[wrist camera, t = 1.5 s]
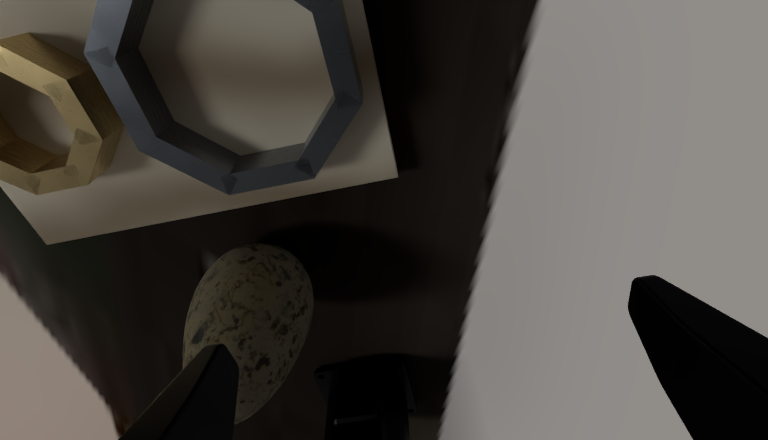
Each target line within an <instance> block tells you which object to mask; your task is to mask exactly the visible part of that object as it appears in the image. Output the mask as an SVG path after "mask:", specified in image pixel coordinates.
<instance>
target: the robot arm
mask: <svg viewBox="0 0 768 440" xmlns="http://www.w3.org/2000/svg"><path fill="white" fill-rule="evenodd" d="M628 310H629V314H630V317H631V319H632V321H633V324H634V326H635V328H636V330H637V333H638V335H639V337H640V339H641V342H642V344H643V346H644V348H645V350H646V353H647V355H648V357H649V359H650V362H651V364H652V366H653V368H654V371H655V373H656V375H657V377H658V379H659V381H660V383H661V385H662V387H663V389H664V390H665V392H666V394H667V396H668V397H669V399H670V401H671V403H672V404H673V406H674V408H675V409H676V411H677V413H678V415H679V416H680V418H681V420H682V421H683V423H684V424H685V426H686V428H687V430H688V432H689V433H690V435H691V437H692V438H693V440H768V338H767V337H765V336H763V335H761V334H760V333H758V332H756V331H754V330H752V329H751V328H749V327H747V326H745V325H744V324H742V323H740V322H738V321H736V320H735V319H733V318H731V317H729V316H728V315H726V314H724V313H722V312H720V311H719V310H717V309H715V308H713V307H712V306H710V305H708V304H706V303H705V302H703V301H701V300H699V299H697V298H696V297H694V296H692V295H690V294H689V293H686V292H685V291H683V290H681V289H680V288H678V287H676V286H674V285H673V284H671V283H669V282H667V281H665V280H664V279H662V278H660V277H658V276H655V275H650V276H644V277H637V278H635V279H634V280H633V281H632V285H631V291H630V296H629V302H628ZM314 378H315V380H316V382H317V385H318V387H319V389H320V391H321V393H322V395H323V397H324V400H325V402H326V404H327V406H328V407H327V417H326V428H325V438H324V440H410V435H409V421H408V415H412V414H415V413H416V412H417V404H416V401H415V397H414V393H413V390H412V386H411V382H410V379H409V375H408V371H407V368H406V364H405V360H404V358H403V357H401V356H393V357H387V358H380V359H374V360H367V361H361V362H354V363H348V364H341V365H335V366H328V367H322V368H317V369H316V370H315V374H314ZM238 383H239V367H238V364H237V362H236V361H235V359H234V358H233V356H232V355H231V353H230V352H229V350H228V348H227V347H226V346H225V345H224V344H222V343H219V344H213V345H207V346H205V347H203V348H202V349H201V350H200V351H199V352H198V354H197V355H196V356H195V357H194V358H193V359H192V360H191V361H190V362H189V363H188V364H187V366H186V367H185V368H184V369H183V370H182V371H181V372H180V373H179V374H178V375H177V376H176V377H175V379H174V380H173V381H172V382H171V383H170V384H169V385H168V386H167V387H166V388H165V389H164V390H163V392H162V393H161V394H160V395H159V396H158V397H157V398H156V399H155V400H154V401H153V402H152V404H151V405H150V406H149V407H148V408H147V409H146V410H145V411H144V412H143V413H142V414H141V415H140V417H139V418H138V419H137V420H136V421H135V422H134V423H133V424H132V425H131V426H130V427H129V428H128V430H127V431H126V432H125V433H124V434H123V435H122V436H121V437H120V438H119V439H118V440H232V438H233V430H234V421H235V412H236V402H237V393H238Z"/></svg>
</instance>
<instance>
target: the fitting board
mask: <svg viewBox="0 0 768 440" xmlns="http://www.w3.org/2000/svg"><path fill="white" fill-rule="evenodd" d="M97 1H98V0H0V39H3V38H7V37H11V36H15V35H20V34H23V33H27V32H28V33H30V34H32V35H34V36H36V37H37V38H39V39H41V40H43V41H45V42H47V43H49V44H50V45H52V46H54V47H56V48H58V49H60V50H62V51H63V52H65V53H67V54H69V55H71V56H73V57H75V58H77V59H78V60H80V61H82V62H84V63H86V64H88V65H90V64H89V62H88V60H87V58H86V57H85V55H84V49H85V46H86V42H87V38H88V34H89V31H90V27H91V23H92V19H93V16H94V12H95V8H96V4H97ZM343 4H344V8H345V13H346V17H347V21H348V26H349V30H350V34H351V39H352V43H353V47H354V52H355V56H356V60H357V65H358V69H359V73H360V78H361V82H362V86H363V104H362V105H361V107H360V108H359V110H358V112H357V113H356V115H355V116H354V118H353V119H352V121H351V123H350V124H349V126H348V127H347V129H346V130H345V132H344V134H343V135H342V137H341V138H340V140H339V141H338V143H337V144H336V146H335V148H334V149H333V151H332V152H331V154H330V155H329V157H328V159H327V160H326V162H325V163H324V165H323V166H322V168H321V170H320V171H319V173H318V174H317V176H316V177H315V179H310V180H305V181H300V182H295V183H290V184H285V185H280V186H274V187H269V188H264V189H259V190H254V191H249V192H244V193H239V194H234V195H227V194H225V193H223V192H221V191H219V190H217V189H215V188H213V187H211V186H209V185H207V184H205V183H203V182H201V181H199V180H197V179H195V178H193V177H191V176H189V175H187V174H185V173H183V172H181V171H179V170H177V169H175V168H173V167H171V166H169V165H167V164H165V163H162V162H160V161H158V160H156V159H154V158H152V157H150V156H148V155H146V154H144V153H142V152H140V151H139V150H138V148H137V147H136V145H135V143H134V141H133V140H132V138H131V136H130V134H129V133H128V131H127V129H126V127H125V125H124V128H123V131H122V134H121V137H120V139H119V142H118V145H117V148H116V151H115V154H114V157H113V160H112V163H111V165H110V167H108V168H107V169H106V170H105V171H104V172H103V173H101V174H100V175H99V176H98V177H97V178H96V179H94V180H93V181H92V182H91V183H90V184H89V185H85V186H80V187H75V188H70V189H65V190H61V191H56V192H51V193H46V194H41V195H35V194H32V193H30V192H28V191H25V190H23V189H21V188H18V187H16V186H14V185H11V184H9V183H7V182H4V181H2V180H0V187H1V188H2V189H3V190H4V192H5V193H6V194H7V195H8V197H9V198H10V199H11V200H12V202H13V203H14V204H15V205H16V207H17V208H18V209H19V210H20V212H21V213H22V214H23V215H24V217H25V218H26V219H27V220H28V222H29V223H30V224H31V225H32V227H33V228H34V229H35V230H36V232H37V233H38V234H39V235H40V237H41V238H42V239H43V240H44V242H45V243H46V244H47V245H48V244H53V243H59V242H64V241H69V240H74V239H79V238H85V237H90V236H95V235H100V234H105V233H111V232H116V231H121V230H126V229H131V228H137V227H142V226H147V225H152V224H157V223H163V222H168V221H173V220H178V219H183V218H189V217H194V216H199V215H204V214H209V213H215V212H220V211H225V210H230V209H235V208H241V207H246V206H251V205H256V204H261V203H267V202H272V201H277V200H282V199H287V198H292V197H298V196H303V195H308V194H313V193H318V192H324V191H329V190H334V189H339V188H344V187H350V186H355V185H360V184H365V183H370V182H376V181H381V180H386V179H391V178H396V177H398V172H397V164H396V160H395V155H394V150H393V145H392V140H391V136H390V131H389V126H388V121H387V116H386V112H385V107H384V102H383V97H382V92H381V87H380V83H379V78H378V73H377V68H376V63H375V59H374V54H373V49H372V44H371V39H370V35H369V30H368V25H367V20H366V15H365V11H364V6H363V1H362V0H343ZM138 48H139V50H140V53H141V55H142V57H143V59H144V61H145V63H146V65H147V67H148V69H149V71H150V73H151V75H152V77H153V79H154V81H155V83H156V85H157V87H158V89H159V91H160V93H161V95H162V97H163V99H164V101H165V103H166V105H167V107H168V109H169V111H170V113H171V115H172V117H173V119H174V121H176V122H178V123H180V124H181V125H183V126H185V127H187V128H189V129H191V130H193V131H195V132H197V133H198V134H200V135H202V136H204V137H206V138H208V139H210V140H212V141H214V142H215V143H217V144H219V145H221V146H223V147H225V148H227V149H229V150H231V151H232V152H234V153H236V154H238V155H240V156H241V155H246V154H251V153H256V152H261V151H266V150H270V149H275V148H280V147H285V146H290V145H295V144H300V143H305V141H306V139H307V138H308V136H309V134H310V133H311V131H312V129H313V127H314V126H315V124H316V122H317V121H318V119H319V117H320V116H321V114H322V112H323V111H324V109H325V107H326V106H327V104H328V102H329V101H330V99H331V97H332V96H333V94H334V92H333V88H332V85H331V81H330V77H329V73H328V70H327V66H326V62H325V59H324V55H323V51H322V48H321V44H320V40H319V36H318V33H317V29H316V25H315V22H314V18H313V14H312V12H310V11H309V10H307V9H306V8H304V7H303V6H302V5H300V4H299V3H297V2H296V1H294V0H154V2H153V5H152V8H151V11H150V14H149V17H148V20H147V23H146V26H145V29H144V32H143V35H142V38H141V41H140V44H139V47H138ZM90 66H91V65H90ZM0 112H1V113H2V115H3V116H4V118H5V119H6V120H7V122H8V123H9V125H10V126H11V127H12V129H13V130H14V131H15V133H16V134H17V136H18V137H19V138H22V139H24V140H26V141H28V142H30V143H32V144H35V145H37V146H39V147H41V148H43V149H45V150H48V151H50V152H52V153H54V154H56V155H61V154H66V153H70V149H71V146H72V142H73V139H74V134H73V133H72V131H71V130H70V128H69V126H68V125H67V123H66V122H65V120H64V119H63V117H62V116H61V114H60V112H59V111H58V109H57V108H56V106H55V105H54V103H53V102H52V100H51V98H50V97H49V96H48V95H46V94H44V93H42V92H40V91H38V90H36V89H34V88H32V87H30V86H28V85H26V84H24V83H22V82H20V81H18V80H16V79H14V78H12V77H10V76H8V75H6V74H4V73H2V72H0Z"/></svg>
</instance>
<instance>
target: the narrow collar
mask: <svg viewBox="0 0 768 440" xmlns="http://www.w3.org/2000/svg"><path fill="white" fill-rule="evenodd" d="M0 72H2V73H4V74H6V75H8V76H10V77H12V78H14V79H16V80H18V81H20V82H22V83H24V84H26V85H28V86H30V87H32V88H34V89H36V90H38V91H40V92H42V93H44V94H46V95H48V96H49V97H50V98H51V100H52V102H53V103H54V105H55V106H56V108H57V109H58V111H59V112H60V114H61V116H62V117H63V119H64V120H65V122H66V123H67V125H68V126H69V128H70V130H71V131H72V133H73V134H74V139H73V142H72V146H71V149H70V153H66V154H61V155H56V154H54V153H52V152H50V151H48V150H45V149H43V148H41V147H39V146H37V145H35V144H32V143H30V142H28V141H26V140H24V139H22V138H19V137H18V136H17V134H16V133H15V131H14V130H13V129H12V127H11V126H10V125H9V123H8V122H7V120H6V119H5V118H4V116H3V115H2V113H1V112H0V180H2V181H4V182H7V183H9V184H11V185H14V186H16V187H18V188H21V189H23V190H25V191H28V192H30V193H32V194H35V195H41V194H46V193H51V192H56V191H61V190H65V189H70V188H75V187H80V186H85V185H89V184H90V183H91V182H92V181H93V180H94V179H96V178H97V177H98V176H99V175H100V174H101V173H103V172H104V171H105V170H106V169H107V168H108V167H110V165H111V163H112V160H113V157H114V154H115V151H116V148H117V145H118V142H119V139H120V137H121V134H122V131H123V128H124V124H123V122H122V120H121V118H120V117H119V115H118V113H117V111H116V110H115V108H114V106H113V104H112V102H111V101H110V99H109V97H108V95H107V94H106V92H105V90H104V88H103V87H102V85H101V83H100V81H99V80H98V78H97V76H96V74H95V72H94V71H93V69H92V67H91V66H90V65H88V64H86V63H84V62H82V61H80V60H78V59H77V58H75V57H73V56H71V55H69V54H67V53H65V52H63V51H62V50H60V49H58V48H56V47H54V46H52V45H50V44H49V43H47V42H45V41H43V40H41V39H39V38H37V37H36V36H34V35H32V34H30V33H28V32H27V33H23V34H20V35H15V36H11V37H7V38H3V39H0Z"/></svg>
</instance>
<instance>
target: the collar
mask: <svg viewBox="0 0 768 440" xmlns="http://www.w3.org/2000/svg"><path fill="white" fill-rule="evenodd" d="M294 1H296V2H297V3H299V4H300V5H302V6H303V7H304V8H306V9H307V10H309V11H310V12H312V14H313V18H314V22H315V25H316V29H317V33H318V36H319V40H320V44H321V48H322V51H323V55H324V59H325V62H326V66H327V70H328V73H329V77H330V81H331V85H332V88H333V92H334V94H333V96H332V97H331V99H330V101H329V102H328V104H327V106H326V107H325V109H324V111H323V112H322V114H321V116H320V117H319V119H318V121H317V122H316V124H315V126H314V127H313V129H312V131H311V133H310V134H309V136H308V138H307V139H306V141H305V143H300V144H295V145H290V146H285V147H280V148H275V149H270V150H266V151H261V152H256V153H251V154H246V155H241V156H240V155H238V154H236V153H234V152H232V151H231V150H229V149H227V148H225V147H223V146H221V145H219V144H217V143H215V142H214V141H212V140H210V139H208V138H206V137H204V136H202V135H200V134H198V133H197V132H195V131H193V130H191V129H189V128H187V127H185V126H183V125H181V124H180V123H178V122H176V121H174V119H173V117H172V115H171V113H170V111H169V109H168V107H167V105H166V103H165V101H164V99H163V97H162V95H161V93H160V91H159V89H158V87H157V85H156V83H155V81H154V79H153V77H152V75H151V73H150V71H149V69H148V67H147V65H146V63H145V61H144V59H143V57H142V55H141V53H140V50H139V48H138V47H139V44H140V41H141V38H142V35H143V32H144V29H145V26H146V23H147V20H148V17H149V14H150V11H151V8H152V5H153V2H154V0H98V1H97V4H96V8H95V12H94V16H93V19H92V23H91V27H90V31H89V34H88V38H87V42H86V46H85V49H84V55H85V57H86V58H87V60H88V62H89V64H90V65H91V67H92V69H93V71H94V72H95V74H96V76H97V78H98V80H99V81H100V83H101V85H102V87H103V88H104V90H105V92H106V94H107V95H108V97H109V99H110V101H111V102H112V104H113V106H114V108H115V110H116V111H117V113H118V115H119V117H120V118H121V120H122V122H123V124H124V125H125V127H126V129H127V131H128V133H129V134H130V136H131V138H132V140H133V141H134V143H135V145H136V147H137V148H138V150H139V151H140V152H142V153H144V154H146V155H148V156H150V157H152V158H154V159H156V160H158V161H160V162H162V163H165V164H167V165H169V166H171V167H173V168H175V169H177V170H179V171H181V172H183V173H185V174H187V175H189V176H191V177H193V178H195V179H197V180H199V181H201V182H203V183H205V184H207V185H209V186H211V187H213V188H215V189H217V190H219V191H221V192H223V193H225V194H227V195H234V194H239V193H244V192H249V191H254V190H259V189H264V188H269V187H274V186H280V185H285V184H290V183H295V182H300V181H305V180H310V179H315V177H316V176H317V174H318V173H319V171H320V170H321V168H322V166H323V165H324V163H325V162H326V160H327V159H328V157H329V155H330V154H331V152H332V151H333V149H334V148H335V146H336V144H337V143H338V141H339V140H340V138H341V137H342V135H343V134H344V132H345V130H346V129H347V127H348V126H349V124H350V123H351V121H352V119H353V118H354V116H355V115H356V113H357V112H358V110H359V108H360V107H361V105H362V104H363V86H362V82H361V78H360V73H359V69H358V65H357V60H356V56H355V52H354V47H353V43H352V39H351V34H350V30H349V26H348V21H347V17H346V13H345V8H344V4H343V0H294Z"/></svg>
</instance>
